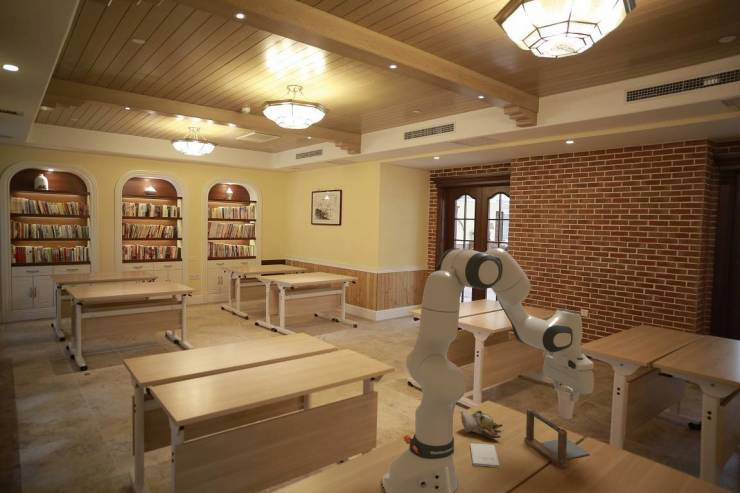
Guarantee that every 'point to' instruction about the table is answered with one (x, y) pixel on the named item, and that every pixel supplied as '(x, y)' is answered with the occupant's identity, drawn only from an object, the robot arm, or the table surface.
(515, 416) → the table surface
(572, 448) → the mat
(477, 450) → the external hard drive
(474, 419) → the ceramic sculpture
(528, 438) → the bar hurdle
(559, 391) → the smoothie
